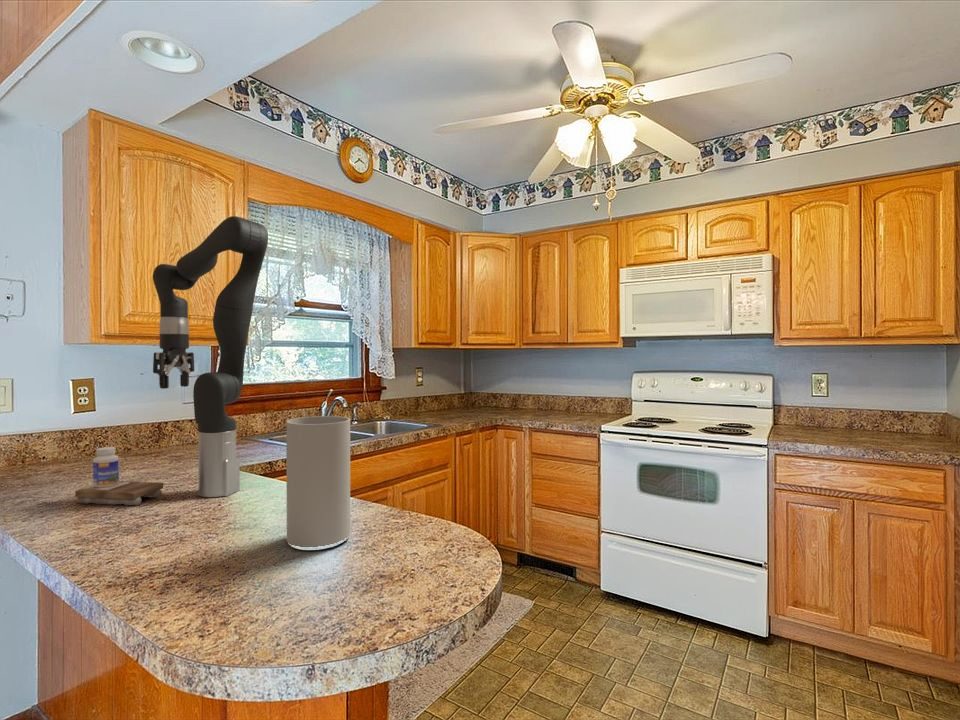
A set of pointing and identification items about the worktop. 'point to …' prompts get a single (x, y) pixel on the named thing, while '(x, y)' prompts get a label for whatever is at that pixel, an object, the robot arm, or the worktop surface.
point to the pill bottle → (105, 468)
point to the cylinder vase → (318, 480)
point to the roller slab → (119, 493)
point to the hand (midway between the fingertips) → (174, 387)
